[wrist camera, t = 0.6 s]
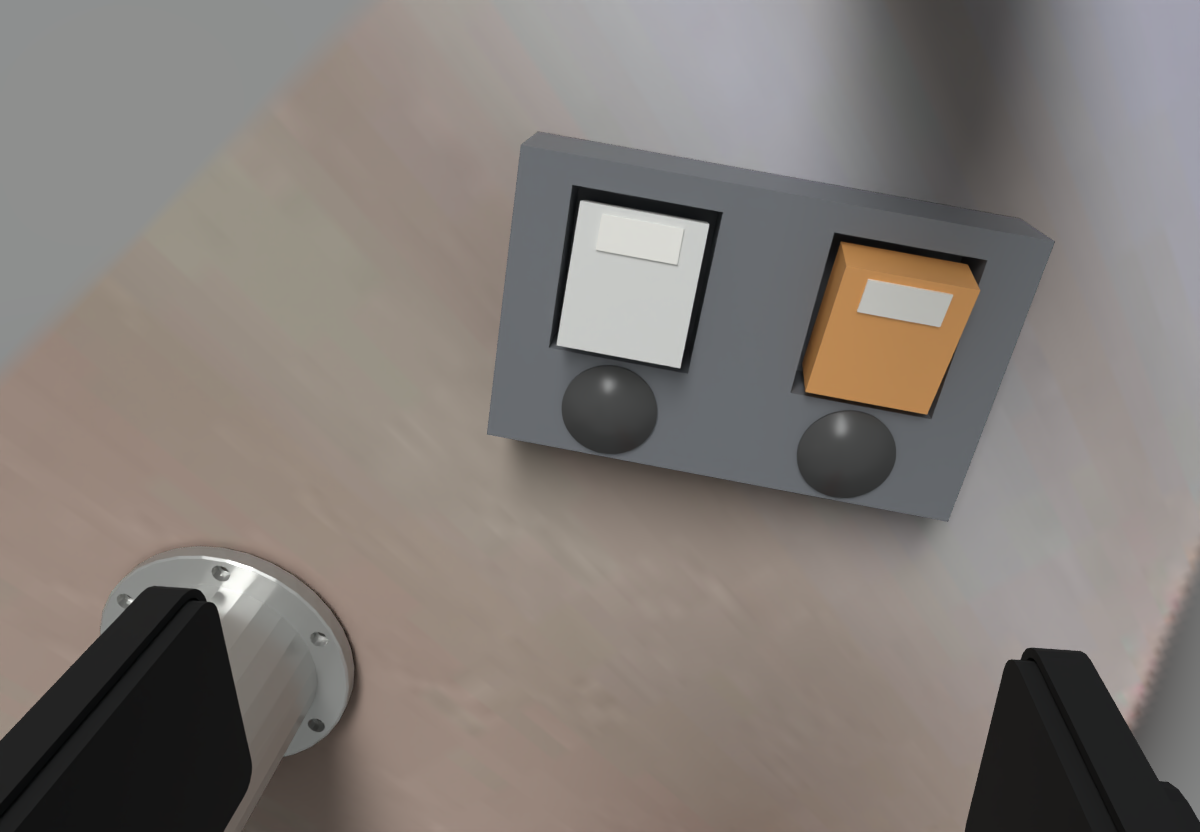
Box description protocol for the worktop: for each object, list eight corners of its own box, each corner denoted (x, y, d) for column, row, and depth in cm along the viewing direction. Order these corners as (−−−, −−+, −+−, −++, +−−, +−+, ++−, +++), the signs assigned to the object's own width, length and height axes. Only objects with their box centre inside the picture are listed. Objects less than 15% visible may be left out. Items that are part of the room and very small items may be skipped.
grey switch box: (926, 478, 38) (948, 523, 34) (504, 398, 38) (485, 435, 35) (1020, 218, 33) (1056, 242, 30) (537, 131, 33) (520, 145, 30)
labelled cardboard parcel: (918, 384, 34) (927, 416, 32) (801, 363, 34) (805, 393, 32) (967, 264, 31) (981, 291, 29) (840, 241, 31) (846, 267, 29)
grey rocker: (679, 357, 33) (680, 368, 31) (562, 335, 33) (556, 345, 31) (706, 221, 32) (709, 224, 30) (585, 199, 32) (579, 200, 30)
